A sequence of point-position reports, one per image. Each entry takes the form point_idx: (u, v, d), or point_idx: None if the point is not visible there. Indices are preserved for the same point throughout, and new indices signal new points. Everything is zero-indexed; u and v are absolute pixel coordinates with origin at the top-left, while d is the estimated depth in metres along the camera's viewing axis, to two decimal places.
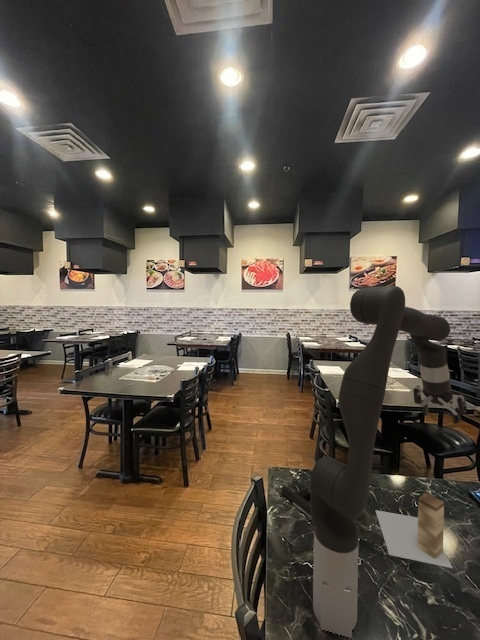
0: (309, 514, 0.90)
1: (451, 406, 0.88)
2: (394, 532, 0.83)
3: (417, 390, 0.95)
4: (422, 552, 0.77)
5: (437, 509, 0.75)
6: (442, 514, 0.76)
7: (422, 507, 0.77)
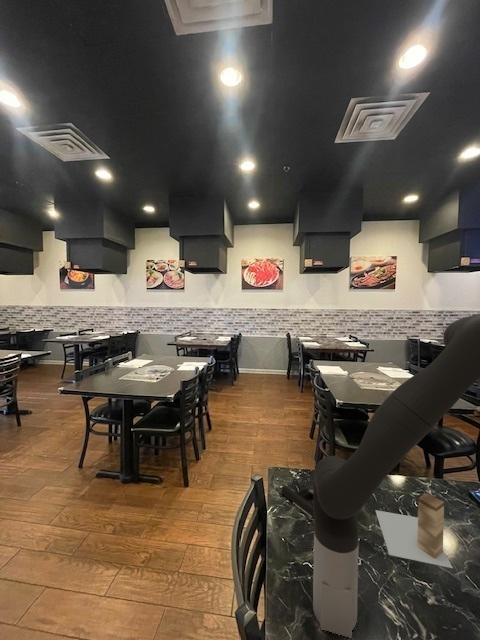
0: (310, 514, 0.91)
1: None
2: (394, 532, 0.83)
3: None
4: (422, 552, 0.77)
5: (437, 509, 0.75)
6: (442, 514, 0.76)
7: (422, 507, 0.77)
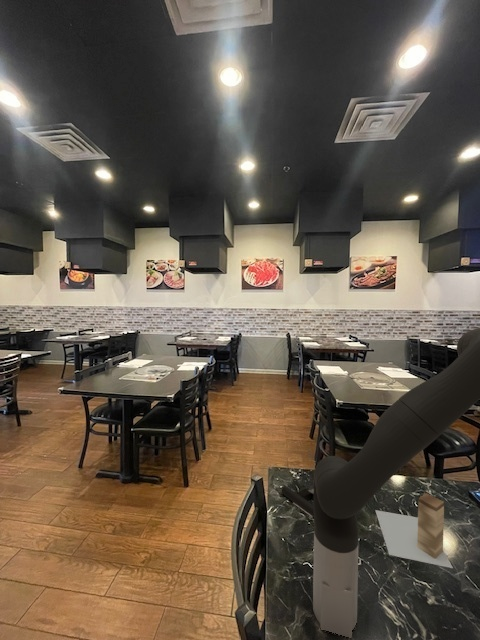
0: (310, 514, 0.91)
1: None
2: (394, 532, 0.83)
3: None
4: (422, 552, 0.77)
5: (437, 509, 0.75)
6: (442, 514, 0.76)
7: (422, 507, 0.77)
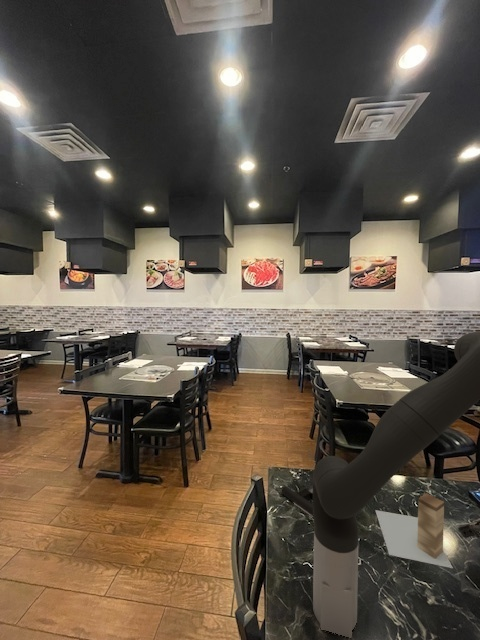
0: (311, 514, 0.91)
1: (479, 523, 0.67)
2: (394, 532, 0.83)
3: None
4: (422, 552, 0.77)
5: (437, 509, 0.75)
6: (442, 514, 0.76)
7: (422, 507, 0.77)
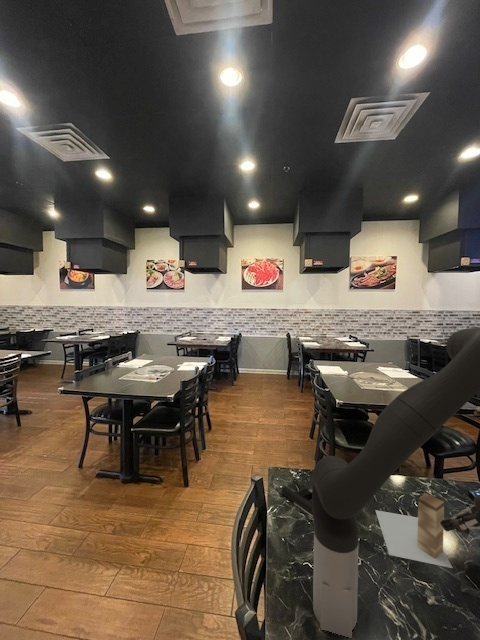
0: (311, 514, 0.91)
1: (459, 517, 0.70)
2: (394, 532, 0.83)
3: None
4: (422, 552, 0.77)
5: (437, 509, 0.75)
6: (442, 514, 0.76)
7: (422, 507, 0.77)
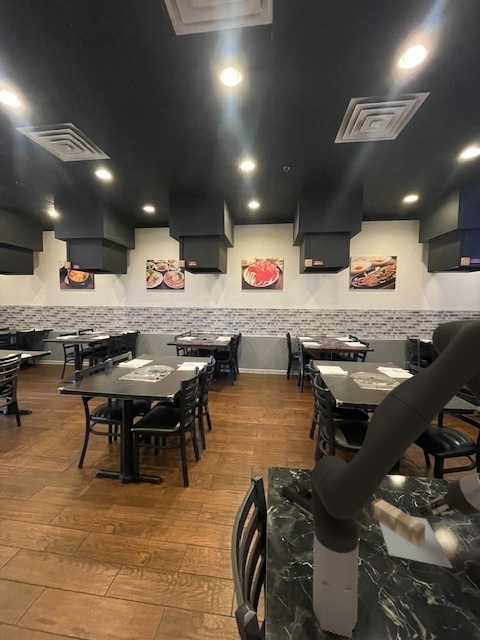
0: (311, 513, 0.91)
1: (433, 504, 0.75)
2: (394, 532, 0.83)
3: None
4: (422, 552, 0.77)
5: (374, 502, 0.90)
6: (387, 504, 0.89)
7: (376, 516, 0.89)
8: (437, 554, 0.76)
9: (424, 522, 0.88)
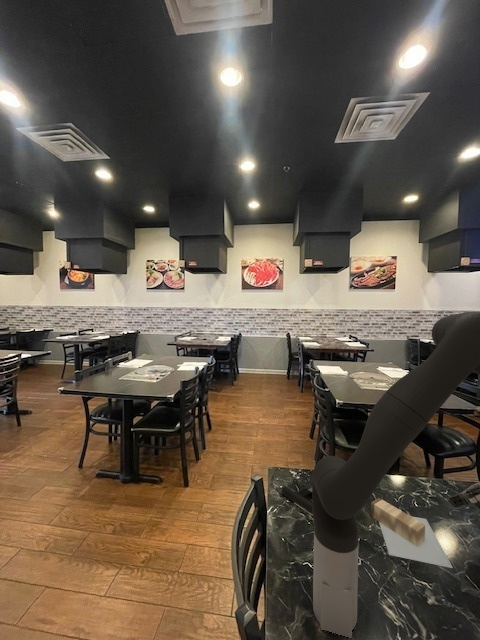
0: (312, 513, 0.91)
1: (468, 492, 0.69)
2: (394, 532, 0.83)
3: None
4: (422, 552, 0.77)
5: (374, 502, 0.90)
6: (387, 504, 0.89)
7: (376, 516, 0.89)
8: (437, 554, 0.76)
9: (424, 522, 0.88)
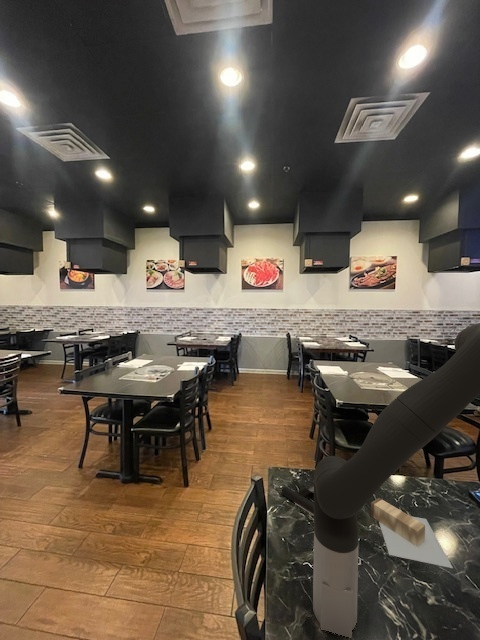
0: (313, 513, 0.91)
1: None
2: (394, 532, 0.83)
3: None
4: (422, 552, 0.77)
5: (374, 502, 0.90)
6: (387, 504, 0.89)
7: (376, 516, 0.89)
8: (437, 554, 0.76)
9: (424, 522, 0.88)
